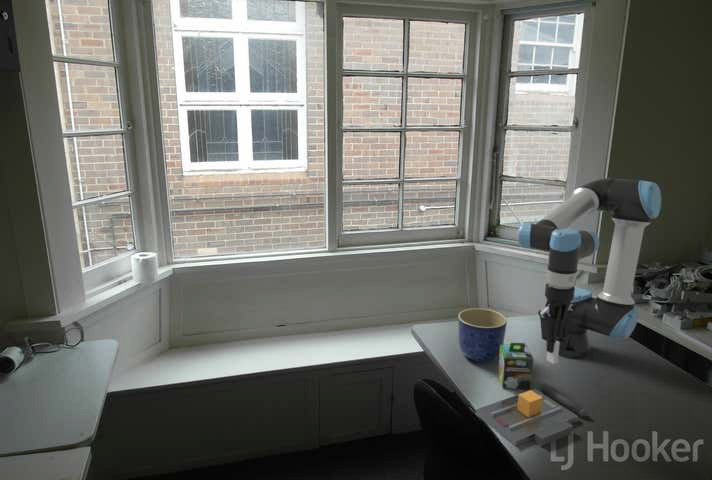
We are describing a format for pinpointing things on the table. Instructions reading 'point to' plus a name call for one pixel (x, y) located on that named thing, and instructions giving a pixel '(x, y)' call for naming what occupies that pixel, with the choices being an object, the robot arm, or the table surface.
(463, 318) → the planter
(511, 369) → the chalk box
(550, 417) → the breaker panel
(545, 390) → the dark grey rod
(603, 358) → the table surface
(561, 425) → the grey bar
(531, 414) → the block
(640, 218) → the robot arm
